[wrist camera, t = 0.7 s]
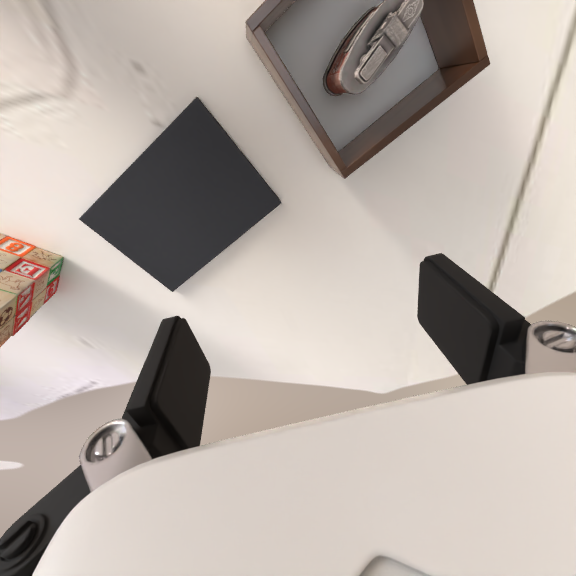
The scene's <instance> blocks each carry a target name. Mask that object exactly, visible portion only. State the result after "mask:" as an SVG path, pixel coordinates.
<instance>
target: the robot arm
mask: <svg viewBox="0 0 576 576" xmlns="http://www.w3.org/2000/svg"><path fill="white" fill-rule="evenodd" d="M417 316H418V320H419V323H420V324H421V326H422V327H423V328H424V330H425V331H426V332H427V333H428V335H429V336H430V337H431V339H432V340H433V341H434V343H435V344H436V345H437V346H438V348H439V349H440V350H441V352H442V353H443V354H444V355H445V357H446V358H447V359H448V361H449V362H450V363H451V365H452V366H453V367H454V368H455V370H456V371H457V372H458V374H459V375H460V376H461V377H462V379H463V380H464V381H465V382H466V384H467V385H464V386H459V387H455V388H450V389H445V390H441V391H436V392H431V393H428V394H423V395H418V396H413V397H409V398H404V399H400V400H395V401H391V402H386V403H382V404H378V405H373V406H369V407H364V408H360V409H355V410H351V411H347V412H342V413H338V414H333V415H329V416H325V417H320V418H316V419H311V420H307V421H303V422H298V423H294V424H290V425H285V426H281V427H277V428H272V429H268V430H264V431H260V432H255V433H251V434H247V435H242V436H238V437H234V438H230V439H226V440H221V441H217V442H213V443H209V444H205V445H201V446H200V440H201V434H202V427H203V420H204V414H205V407H206V400H207V393H208V386H209V380H210V373H211V370H210V365H209V363H208V361H207V359H206V357H205V355H204V353H203V351H202V349H201V348H200V346H199V344H198V342H197V340H196V338H195V336H194V334H193V332H192V330H191V329H190V327H189V325H188V323H187V321H186V319H184V318H182V319H181V318H180V317H179V316H175V317H170V318H166V319H163V320H162V322H161V324H160V327H159V329H158V332H157V334H156V337H155V339H154V341H153V344H152V346H151V349H150V351H149V354H148V356H147V359H146V361H145V363H144V365H143V368H142V370H141V373H140V375H139V377H138V380H137V382H136V385H135V387H134V390H133V392H132V394H131V397H130V399H129V402H128V404H127V407H126V409H125V412H124V414H123V416H122V419H115V420H112V421H110V422H107V423H105V424H104V425H102V426H101V427H99V428H98V429H97V430H96V431H95V432H93V433H92V434H91V435H90V437H89V438H88V439H87V440H86V442H85V443H84V445H83V447H82V449H81V452H80V456H79V459H80V464H81V465H80V466H79V467H78V468H77V469H75V470H74V471H73V472H72V473H71V474H70V475H69V476H67V477H66V478H65V479H64V480H63V481H62V482H60V483H59V484H58V485H57V486H56V487H55V488H54V489H52V490H51V491H50V492H49V493H48V494H47V495H46V496H45V497H43V498H42V499H41V500H40V501H39V502H37V503H36V504H35V505H34V506H33V507H32V508H31V509H29V510H28V511H27V512H26V513H25V514H24V515H23V516H21V517H20V518H19V519H18V520H17V521H16V522H15V523H14V524H13V525H12V526H11V527H10V528H9V529H8V530H7V531H6V532H5V533H4V535H3V536H2V537H1V538H0V576H576V327H575V326H572V325H570V324H566V323H562V322H557V321H540V322H536V323H533V324H532V325H531V324H530V323H529V322H527V321H526V320H525V317H523V316H522V315H521V314H520V313H518V312H517V311H516V310H514V309H513V308H512V307H511V306H509V305H508V304H507V303H505V302H504V301H503V300H502V299H500V298H499V297H498V296H496V295H495V294H494V293H493V292H491V291H490V290H489V289H487V288H486V287H485V286H484V285H482V284H481V283H480V282H478V281H477V280H476V279H475V278H473V277H472V276H471V275H469V274H468V273H467V272H466V271H464V270H463V269H462V268H460V267H459V266H458V265H457V264H455V263H454V262H453V261H451V260H450V259H449V258H448V257H446V256H445V255H444V254H442V253H440V254H436V255H431V256H427V257H425V258H424V261H422V262H421V263H420V272H419V293H418V314H417Z"/></svg>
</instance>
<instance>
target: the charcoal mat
mask: <svg viewBox="0 0 576 576" xmlns="http://www.w3.org/2000/svg"><path fill="white" fill-rule="evenodd" d="M279 204H281V201H280V200H279V198H278V197H277V196H276V195H275V193H274V192H273V191H272V190H271V188H270V187H269V186H268V185H267V183H266V182H265V181H264V180H263V178H262V177H261V176H260V175H259V173H258V172H257V171H256V170H255V168H254V167H253V166H252V165H251V163H250V162H249V161H248V160H247V158H246V157H245V156H244V155H243V153H242V152H241V151H240V150H239V148H238V147H237V146H236V145H235V143H234V142H233V141H232V140H231V138H230V137H229V136H228V135H227V133H226V132H225V131H224V130H223V128H222V127H221V126H220V125H219V123H218V122H217V121H216V120H215V118H214V117H213V116H212V115H211V113H210V112H209V111H208V110H207V108H206V107H205V106H204V105H203V103H202V102H201V101H200V100H199V98H198V97H196V99H195V100H194V101H193V102H192V103H191V104H190V105H189V106H188V107H187V108H186V109H185V110H184V111H183V112H182V113H181V114H180V115H179V116H178V117H177V118H176V119H175V120H174V121H173V122H172V123H171V124H170V125H169V126H168V127H167V129H166V130H165V131H164V132H163V133H162V134H161V135H160V136H159V137H158V138H157V139H156V140H155V141H154V142H153V143H152V144H151V145H150V146H149V147H148V148H147V149H146V150H145V151H144V152H143V153H142V154H141V155H140V156H139V157H138V159H137V160H136V161H135V162H134V163H133V164H132V165H131V166H130V167H129V168H128V169H127V170H126V171H125V172H124V173H123V174H122V175H121V176H120V177H119V178H118V179H117V180H116V181H115V182H114V183H113V184H112V185H111V186H110V187H109V188H108V190H107V191H106V192H105V193H104V194H103V195H102V196H101V197H100V198H99V199H98V200H97V201H96V202H95V203H94V204H93V205H92V206H91V207H90V208H89V209H88V210H87V211H86V212H85V213H84V214H83V215H82V216H81V217H80V218H79V219H80V220H81V221H82V222H83V223H85V224H86V225H87V226H89V227H90V228H91V229H92V230H94V231H95V232H96V233H97V234H99V235H100V236H101V237H103V238H104V239H105V240H106V241H108V242H109V243H110V244H112V245H113V246H114V247H115V248H117V249H118V250H119V251H121V252H122V253H123V254H124V255H126V256H127V257H128V258H130V259H131V260H132V261H133V262H135V263H136V264H137V265H139V266H140V267H141V268H142V269H144V270H145V271H146V272H148V273H149V274H150V275H151V276H153V277H154V278H155V279H156V280H158V281H159V282H160V283H162V284H163V285H164V286H165V287H167V288H168V289H169V290H171V291H172V292H173V291H174V290H175V289H177V288H178V287H179V286H180V285H181V284H183V283H184V282H185V281H186V280H188V279H189V278H190V277H191V276H193V275H194V274H195V273H196V272H197V271H199V270H200V269H201V268H202V267H204V266H205V265H206V264H207V263H208V262H210V261H211V260H212V259H213V258H215V257H216V256H217V255H218V254H219V253H221V252H222V251H223V250H224V249H226V248H227V247H228V246H229V245H230V244H232V243H233V242H234V241H235V240H237V239H238V238H239V237H240V236H241V235H243V234H244V233H245V232H246V231H248V230H249V229H250V228H251V227H252V226H254V225H255V224H256V223H257V222H259V221H260V220H261V219H262V218H263V217H265V216H266V215H267V214H268V213H270V212H271V211H272V210H273V209H274V208H276V207H277V206H278V205H279Z"/></svg>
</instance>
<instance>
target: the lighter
mask: <svg viewBox="0 0 576 576" xmlns="http://www.w3.org/2000/svg"><path fill="white" fill-rule="evenodd" d="M423 5H424V4H423V0H385V1H384V2H383V3H381V4H380V5H379V6H378V7H372V8H371V9H370V10H368V11H367V12H366V13H365V14H364V15H363V16H362V17H361V18H360V19H359V20H358V21H357V22H356V23H355V24H354V26H353V27H352V28H351V29H350V31H349V32H348V33H347V35H346V36H345V37H344V39H343V40H342V41H341V43H340V45H339V46H338V48H337V50H336V52H335V53H334V55H333V57H332V58H331V61H330V63H329V65H328V67H327V69H326V72H325V74H324V77H323V86H324V89H325V90H326V91H327V93H329V94H330V95H333V96H338V95H341V94H343V93H347V92H348V93H350V94H359V93H362V92H363V91H365V90H366V89H367V88H368V87H369V86H370V85H371V84H372V83H373V82H374V81H375V80H376V79H377V78H378V77H379V76H380V75H381V74H382V72H383V71H384V70H385V69H386V68H387V66H388V65H389V64H390V63H391V62H392V60H393V59H394V58H395V56H396V55H397V53H398V52H399V50H400V49H401V47H402V46H403V44H404V43H405V41H406V40H407V38H408V37H409V35H410V33H411V31H412V29H413V27H414V26H415V24H416V22H417V20H418V18H419V16H420V14H421V11H422V8H423Z"/></svg>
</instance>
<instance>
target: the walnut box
mask: <svg viewBox="0 0 576 576" xmlns="http://www.w3.org/2000/svg"><path fill="white" fill-rule="evenodd" d="M295 1H296V0H265V1H264V2H263V3H262V5H261V6H260V7H259V8H258V9H257V10H256V11H255V12H254V13H253V14H252V15H251V16H250V17H249V18H248V19H247V21H246V38H247V40H248V41H249V43H250V44H251V45H252V47H253V49H254V50H255V52H256V53H257V55H258V57H259V58H260V60H261V61H262V63H263V64H264V66H265V67H266V69H267V70H268V72H269V74H270V75H271V77H272V78H273V80H274V81H275V83H276V84H277V86H278V87H279V89H280V91H281V92H282V94H283V95H284V97H285V98H286V100H287V101H288V103H289V104H290V106H291V108H292V109H293V111H294V112H295V114H296V115H297V117H298V118H299V120H300V121H301V123H302V125H303V126H304V128H305V129H306V131H307V132H308V134H309V135H310V137H311V139H312V140H313V142H314V143H315V145H316V146H317V148H318V149H319V151H320V152H321V154H322V156H323V157H324V159H325V160H326V161H327V163H328V165H329V166H330V167H331V168H332V169H333V170H334V171H336V172H337V173H338V174H339V175H341V176H342V177H343V178H344V179H345V178H346V177H348V176H349V175H350V174H351V173H353V172H354V171H355V170H356V169H358V168H359V167H360V166H361V165H363V164H364V163H365V162H367V161H368V160H369V159H370V158H372V157H373V156H374V155H375V154H377V153H378V152H379V151H381V150H382V149H383V148H384V147H386V146H387V145H388V144H389V143H391V142H392V141H393V140H394V139H396V138H397V137H398V136H400V135H401V134H402V133H403V132H405V131H406V130H407V129H408V128H410V127H411V126H412V125H414V124H415V123H416V122H417V121H419V120H420V119H421V118H422V117H424V116H425V115H426V114H427V113H429V112H430V111H431V110H433V109H434V108H435V107H436V106H438V105H439V104H440V103H441V102H443V101H444V100H445V99H446V98H448V97H449V96H450V95H452V94H453V93H454V92H455V91H457V90H458V89H459V88H460V87H462V86H463V85H464V84H466V83H467V82H468V81H469V80H471V79H472V78H473V77H474V76H476V75H477V74H478V73H479V72H481V71H482V70H483V69H485V68H486V67H487V66H488V65H490V61H489V57H488V55H487V51H486V47H485V43H484V40H483V36H482V32H481V28H480V25H479V21H478V17H477V14H476V10H475V6H474V3H473V0H423V4H424V5H423V8H422V11H421V14H420V15H421V18H422V21H423V24H424V26H425V29H426V32H427V35H428V38H429V40H430V43H431V46H432V49H433V52H434V54H435V57H436V60H437V63H438V66H439V68H440V69H439V70H438V71H436V72H435V73H434V74H433V75H432V76H430V77H429V78H428V79H427V80H425V81H424V82H423V83H422V84H421V85H419V86H418V87H417V88H416V89H415V90H413V91H412V92H411V93H410V94H408V95H407V96H406V97H405V98H404V99H402V100H401V101H400V102H399V103H397V104H396V105H395V106H394V107H393V108H391V109H390V110H389V111H388V112H387V113H385V114H384V115H383V116H382V117H380V118H379V119H378V120H377V121H376V122H374V123H373V124H372V125H371V126H370V127H368V128H367V129H366V130H365V131H363V132H362V133H361V134H360V135H359V136H357V137H356V138H355V139H354V140H352V141H351V142H350V143H349V144H348V145H346V146H345V147H344V148H343V149H342V150H340V151H339V152H337V150H336V148H335V147H334V145H333V143H332V142H331V140H330V139H329V137H328V135H327V134H326V132H325V130H324V129H323V127H322V126H321V124H320V122H319V121H318V119H317V117H316V116H315V114H314V112H313V111H312V109H311V108H310V106H309V104H308V103H307V101H306V99H305V98H304V96H303V94H302V93H301V91H300V90H299V88H298V86H297V85H296V83H295V81H294V80H293V78H292V77H291V75H290V73H289V72H288V70H287V68H286V67H285V65H284V63H283V62H282V60H281V59H280V57H279V55H278V54H277V52H276V50H275V49H274V47H273V46H272V44H271V42H270V41H269V39H268V37H267V36H266V34H265V31H266V30H267V29H268V28H269V27H270V26H271V25H272V24H273V23H274V22H275V21H276V20H277V19H278V18H279V17H280V16H281V15H282V14H283V13H284V12H285V11H286V10H287V9H288V8H289V7H290V6H291V5H292V4H293V3H294V2H295Z"/></svg>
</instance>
